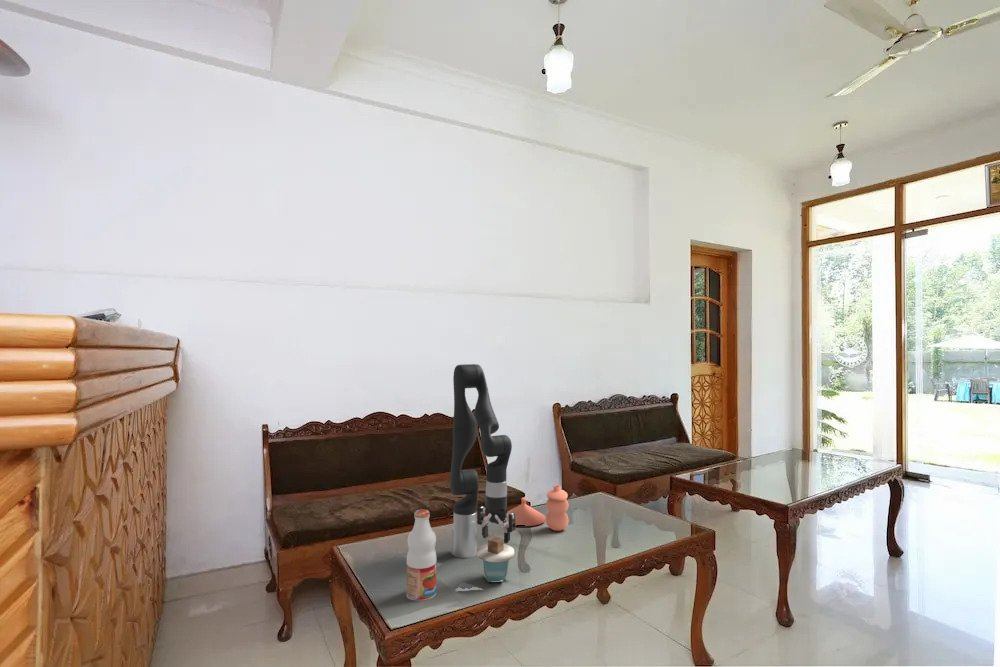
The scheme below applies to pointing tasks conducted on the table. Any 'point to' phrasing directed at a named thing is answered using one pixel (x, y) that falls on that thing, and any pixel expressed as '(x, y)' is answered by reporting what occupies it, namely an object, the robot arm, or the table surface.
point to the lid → (495, 550)
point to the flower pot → (495, 570)
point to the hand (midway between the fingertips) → (495, 540)
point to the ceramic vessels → (555, 515)
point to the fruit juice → (421, 559)
